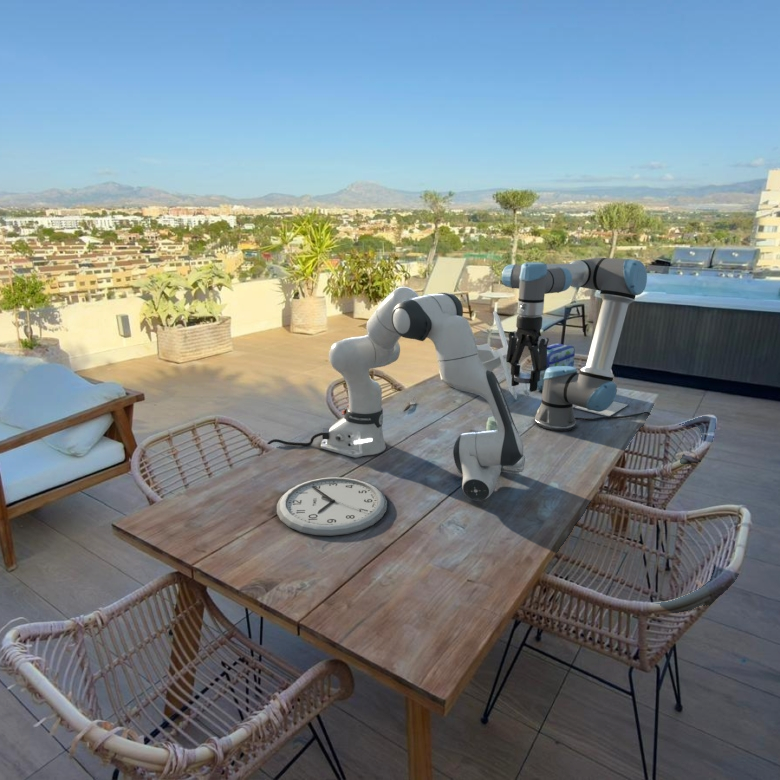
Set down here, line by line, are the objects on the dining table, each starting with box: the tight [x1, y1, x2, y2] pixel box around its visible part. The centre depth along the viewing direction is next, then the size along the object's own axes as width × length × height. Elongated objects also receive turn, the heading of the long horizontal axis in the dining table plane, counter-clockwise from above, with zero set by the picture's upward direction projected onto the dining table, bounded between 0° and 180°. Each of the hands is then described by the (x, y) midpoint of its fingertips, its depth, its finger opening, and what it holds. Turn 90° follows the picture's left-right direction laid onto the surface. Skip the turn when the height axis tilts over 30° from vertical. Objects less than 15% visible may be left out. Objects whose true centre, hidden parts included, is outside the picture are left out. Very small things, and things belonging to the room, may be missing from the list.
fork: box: [403, 396, 419, 412], centre depth 222 cm, size 3×16×2 cm, turn 160°
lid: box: [514, 372, 531, 384], centre depth 164 cm, size 7×7×2 cm
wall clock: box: [276, 476, 388, 537], centre depth 142 cm, size 30×2×30 cm
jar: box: [485, 415, 498, 431], centre depth 164 cm, size 6×6×17 cm
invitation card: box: [573, 400, 629, 417], centre depth 226 cm, size 21×1×15 cm
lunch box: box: [531, 343, 576, 391], centre depth 249 cm, size 26×11×21 cm, turn 134°
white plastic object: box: [438, 310, 531, 400], centre depth 245 cm, size 37×45×31 cm
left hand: (494, 448), depth 165 cm, fingers closed on jar, 5 cm apart
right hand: (523, 387), depth 165 cm, fingers closed on lid, 6 cm apart
